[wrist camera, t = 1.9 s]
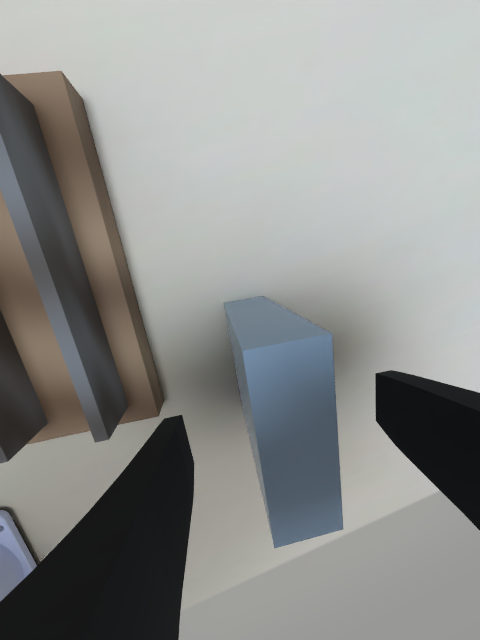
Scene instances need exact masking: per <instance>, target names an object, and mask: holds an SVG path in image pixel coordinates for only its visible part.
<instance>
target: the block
mask: <svg viewBox="0 0 480 640" xmlns="http://www.w3.org/2000/svg"><path fill="white" fill-rule="evenodd" d="M224 307H225V312H226V318H227V324H228V330H229V335H230V341H231V347H232V352H233V358H234V364H235V370H236V375H237V381H238V387H239V392H240V398H241V404H242V408H243V413H244V417H245V422H246V426H247V430H248V435H249V439H250V443H251V448H252V452H253V457H254V461H255V465H256V470H257V474H258V478H259V483H260V487H261V492H262V496H263V500H264V505H265V509H266V513H267V518H268V522H269V527H270V531H271V535H272V540H273V544H274V548H277V547H281V546H284V545H288V544H292V543H295V542H299V541H302V540H306V539H310V538H313V537H317V536H321V535H324V534H328V533H331V532H335V531H339V530H342V529H343V516H342V499H341V481H340V464H339V447H338V429H337V412H336V395H335V377H334V360H333V343H332V333H330V332H328V331H327V330H325V329H323V328H321V327H319V326H317V325H316V324H314V323H312V322H310V321H308V320H306V319H305V318H303V317H301V316H299V315H297V314H295V313H294V312H292V311H290V310H288V309H286V308H284V307H282V306H281V305H279V304H277V303H275V302H273V301H271V300H270V299H268V298H266V297H264V296H260V297H254V298H249V299H243V300H237V301H231V302H226V303H224Z"/></svg>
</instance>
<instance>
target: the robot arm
mask: <svg viewBox="0 0 480 640" xmlns="http://www.w3.org/2000/svg"><path fill="white" fill-rule="evenodd" d="M376 421H377V423H378V424H379V425H380V426H381V428H382V429H383V430H384V432H385V433H386V434H387V435H388V437H389V438H390V439H391V440H392V442H393V443H394V444H395V445H396V446H397V447H398V448H399V449H400V450H401V452H402V453H403V454H404V455H405V456H406V457H407V458H408V459H409V460H410V461H411V462H412V463H413V464H414V465H415V466H416V467H417V468H418V469H419V470H420V471H421V472H422V473H423V474H424V475H425V476H426V477H427V478H428V479H429V480H430V481H431V482H432V483H433V484H434V485H435V486H436V487H437V488H438V489H439V490H440V491H441V492H442V493H443V494H444V495H445V496H447V498H448V499H450V501H451V502H452V503H454V505H456V506H457V507H458V508H459V509H460V510H461V511H462V512H463V513H464V514H465V516H466V517H467V518H468V519H469V520H470V521H471V522H472V523H473V524H474V525H475V526H476V527H477V528H478V529H479V530H480V393H478V392H474V391H470V390H467V389H463V388H459V387H455V386H452V385H448V384H444V383H441V382H437V381H433V380H430V379H426V378H422V377H418V376H414V375H410V374H406V373H402V372H397V371H391V370H390V371H386V372H381V373H376ZM193 495H194V460H193V456H192V453H191V449H190V445H189V441H188V437H187V433H186V429H185V425H184V421H183V417H182V415H179V416H174V417H170V418H165V419H164V420H163V421H162V422H161V423H160V425H159V426H158V427H157V429H156V430H155V431H154V432H153V434H152V435H151V436H150V438H149V439H148V440H147V442H146V443H145V444H144V446H143V447H142V448H141V449H140V451H139V452H138V453H137V454H136V456H135V457H134V458H133V460H132V461H131V462H130V463H129V465H128V466H127V467H126V468H125V470H124V471H123V472H122V473H121V474H120V476H119V477H118V478H117V479H116V480H115V481H114V483H113V484H112V485H111V486H110V487H109V489H108V490H107V491H106V492H105V493H104V494H103V496H102V497H101V498H100V499H99V500H98V501H97V503H96V504H95V505H94V506H93V507H92V508H91V510H90V511H89V512H88V513H87V514H86V515H85V516H84V517H83V518H82V520H81V521H80V522H79V523H78V524H77V525H76V526H75V527H74V528H73V529H72V530H71V531H70V532H69V534H68V535H67V536H66V537H65V538H64V539H63V540H62V541H61V542H60V543H59V544H58V545H57V546H56V547H55V548H54V549H53V550H52V551H51V552H50V553H49V554H48V555H47V556H46V557H45V558H44V559H43V561H42V562H41V563H40V564H39V565H38V566H37V565H36V563H35V561H34V559H33V557H32V556H31V554H30V552H29V550H28V548H27V546H26V544H25V543H24V541H23V539H22V537H21V535H20V533H19V531H18V529H17V528H16V526H15V524H14V522H13V520H12V518H11V516H10V515H9V513H8V512H6V511H4V510H0V640H178V637H179V620H180V609H181V598H182V588H183V580H184V572H185V564H186V555H187V547H188V539H189V530H190V522H191V513H192V505H193Z"/></svg>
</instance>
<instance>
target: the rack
mask: <svg viewBox="0 0 480 640" xmlns="http://www.w3.org/2000/svg"><path fill="white" fill-rule="evenodd" d="M163 402H164V400H163V396H162V392H161V389H160V385H159V381H158V377H157V374H156V370H155V366H154V363H153V359H152V355H151V352H150V348H149V344H148V340H147V337H146V333H145V329H144V326H143V322H142V318H141V315H140V311H139V307H138V303H137V300H136V296H135V292H134V289H133V285H132V281H131V278H130V274H129V270H128V266H127V263H126V259H125V255H124V252H123V248H122V244H121V241H120V237H119V233H118V230H117V226H116V222H115V218H114V215H113V211H112V207H111V204H110V200H109V196H108V193H107V189H106V185H105V181H104V178H103V174H102V170H101V167H100V163H99V159H98V156H97V152H96V148H95V144H94V141H93V137H92V133H91V130H90V126H89V122H88V119H87V115H86V111H85V107H84V104H83V100H82V98H81V96H80V95H79V94H78V92H77V91H76V90H75V88H74V87H73V86H72V84H71V83H70V82H69V80H68V79H67V78H66V76H65V75H64V74H63V73H62V71H54V72H41V73H28V74H16V75H3V76H2V75H1V74H0V463H3V462H8V461H9V460H10V459H11V458H12V457H13V456H14V455H15V454H16V453H17V452H18V451H20V450H21V449H22V448H23V447H24V446H25V445H26V444H31V443H35V442H40V441H45V440H49V439H54V438H59V437H63V436H68V435H73V434H77V433H82V432H87V431H91V433H92V436H93V438H94V441H95V442H99V441H104V440H108V439H110V437H111V435H112V433H113V432H114V430H115V428H116V427H117V425H119V424H124V423H129V422H133V421H138V420H143V419H147V418H152V417H157V416H159V414H160V411H161V408H162V405H163Z"/></svg>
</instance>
